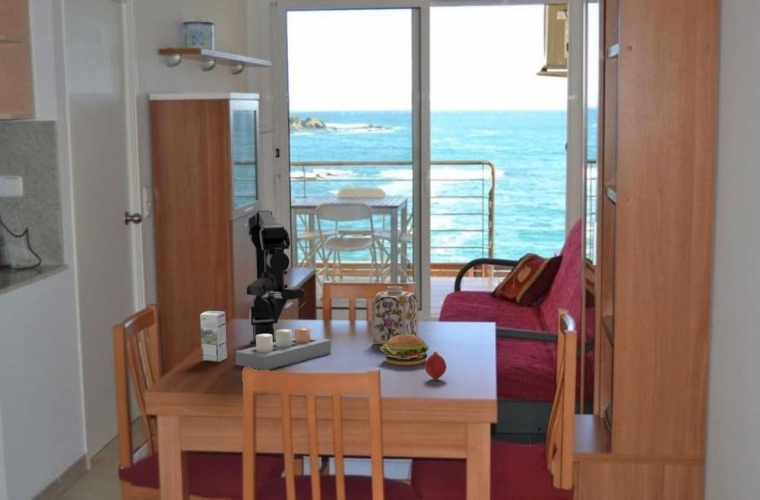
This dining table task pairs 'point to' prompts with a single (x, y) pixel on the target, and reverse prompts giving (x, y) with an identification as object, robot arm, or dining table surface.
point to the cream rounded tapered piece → (264, 343)
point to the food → (405, 350)
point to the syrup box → (213, 336)
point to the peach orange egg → (302, 335)
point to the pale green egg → (283, 338)
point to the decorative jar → (394, 314)
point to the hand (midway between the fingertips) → (275, 320)
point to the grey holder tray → (283, 354)
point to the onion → (435, 366)
